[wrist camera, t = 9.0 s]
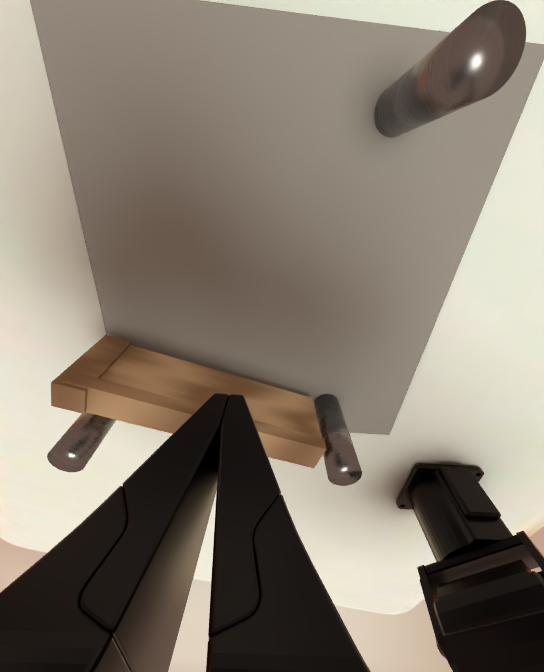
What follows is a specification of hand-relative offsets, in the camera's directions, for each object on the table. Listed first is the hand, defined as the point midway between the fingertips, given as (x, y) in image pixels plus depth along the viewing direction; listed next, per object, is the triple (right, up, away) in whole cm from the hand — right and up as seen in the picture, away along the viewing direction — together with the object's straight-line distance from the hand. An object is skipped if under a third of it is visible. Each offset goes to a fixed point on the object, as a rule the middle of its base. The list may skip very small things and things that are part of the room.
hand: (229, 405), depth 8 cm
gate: (-3, -1, +11) cm, 12 cm away
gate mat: (+1, +5, +9) cm, 11 cm away
